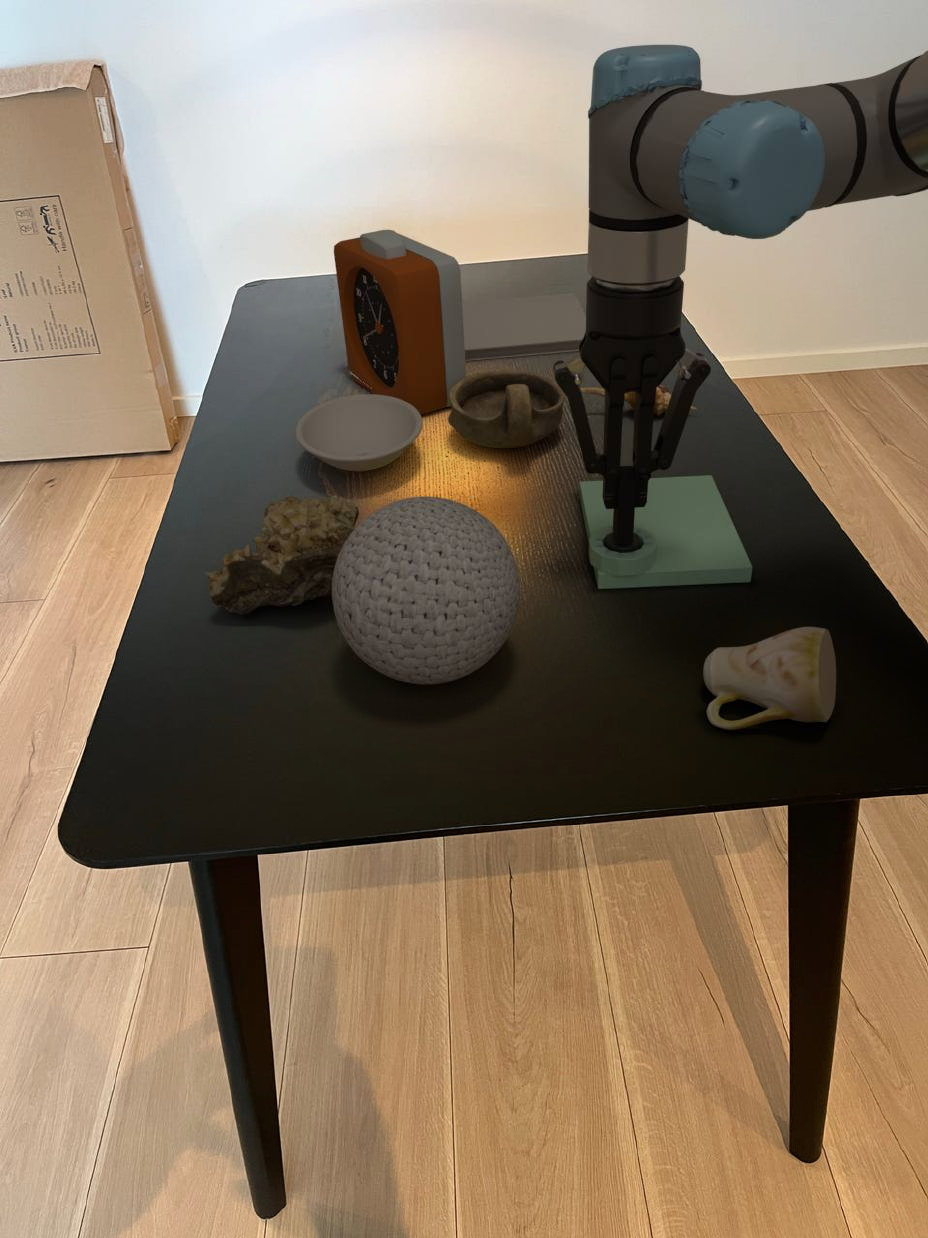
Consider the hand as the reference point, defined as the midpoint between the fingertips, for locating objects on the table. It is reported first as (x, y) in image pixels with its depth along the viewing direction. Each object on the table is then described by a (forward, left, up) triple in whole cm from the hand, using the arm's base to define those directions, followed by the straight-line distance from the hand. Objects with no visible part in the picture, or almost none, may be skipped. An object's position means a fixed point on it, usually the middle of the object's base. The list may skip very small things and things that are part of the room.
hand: (622, 536), depth 90 cm
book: (+64, +7, -4) cm, 65 cm away
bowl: (+28, +9, -4) cm, 30 cm away
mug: (-20, -9, -4) cm, 22 cm away
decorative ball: (-13, +17, -4) cm, 22 cm away
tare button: (0, 0, -2) cm, 2 cm away
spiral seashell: (+35, -7, -4) cm, 36 cm away
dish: (+25, +26, -4) cm, 37 cm away
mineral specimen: (0, +30, -4) cm, 31 cm away
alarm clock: (+46, +22, -4) cm, 52 cm away
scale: (+6, -5, -4) cm, 9 cm away
